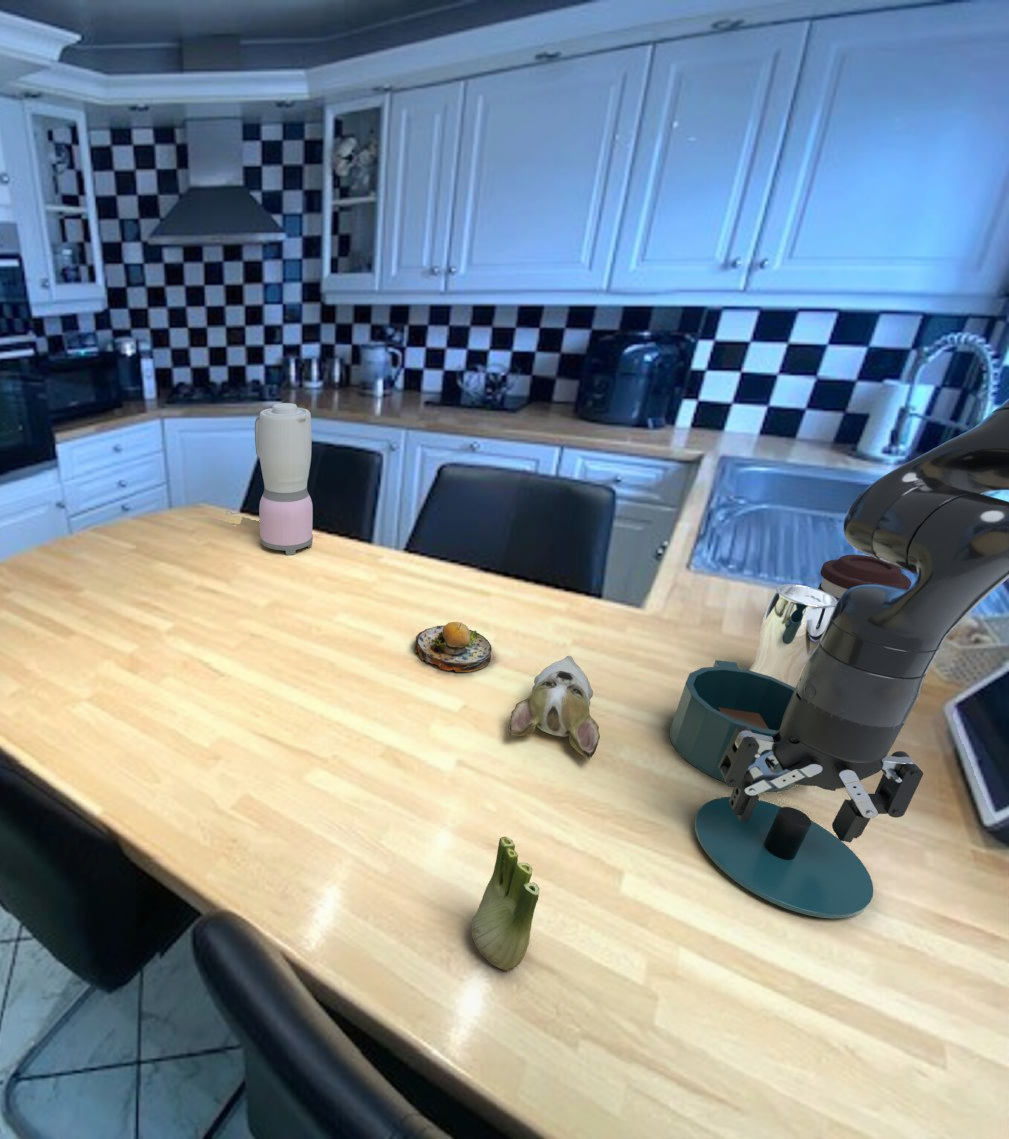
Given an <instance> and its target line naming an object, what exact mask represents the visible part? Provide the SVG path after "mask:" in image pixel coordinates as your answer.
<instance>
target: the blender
mask: <svg viewBox="0 0 1009 1139" xmlns="http://www.w3.org/2000/svg"><path fill="white" fill-rule="evenodd" d="M312 434H313V433H312V414H311V412H310V410H309V409H306V408H303V407H298V406H297V404H296V403H291V402H282V403H275V404H273V405H272V407H271V408H266V409H263V410H261V411H260V413H259V415H258V416H257V417H256V418H255V421H254V442H255V443H254V444H255V454H256V457H257V458H258V459H259V463H260V468H261V474H262V479H263V486H264V487H263V488H264V489H263V492H262V496H261V498H260V501H259V507H258V508H259V509H258V512H259V514H258V515H259V516H258V519H259V542H260V545H262V546H263V547H265V548H268V549H270V550H275V551H284V552H285V555H286V556H294V555H296V551H297V550H301V549H305V548H306V547H307V549H311V548H312V547H313V539H314V537H313V536H314V535H313V523H314V522H313V519H314V518H313V516H314V515H313V514H314V512H313V511H314V508H313V507H314V506H313V501H312V498H311V496H310V493H309V491H308V480H309V476H310V470H311V463H312V438H313V436H312Z"/></svg>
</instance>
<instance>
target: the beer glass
mask: <svg viewBox="0 0 1009 1139" xmlns="http://www.w3.org/2000/svg"><path fill="white" fill-rule="evenodd" d="M837 602H838V601H837V599H836V598H835V597H834V596H832V595H830V594H829V593H827V592H824V591H822V590H819V589H818V588H816V587H812V586H808V585H803V584H794V583H793V584H791V583H788V584H786V583H785V584H781V585H780V584H779V585H778V586H777V587H776V589H775V591H774V593H773V595H772V597H771V599H770V601H769V603H768V604H767V607H766V610H765V612H764V615H763V618H762V621H761V626H760V631H759V639H758V648H757V653H756V656H755V658H754V661H753V663H752V664H751V665H750V667H749V668H748V670H750V671H753V672H757V673H760V674H763V675H767V676H770V677H773V678H775V679H777V680H779V681H782V682H784V683H786V684H788V685H790V686H793V687H795V688H796V685H797V683H798V681H799V678H800V676H801V674H802V671H803V669H804V667H805V665H806V663H807V661H808V659H809V657H810V656H811V654H812V653H813V651H814V650H815V648H816V647H817V645H818V644H819V642H820V639H821V637H822V635H823V633H824V630H825V628H826V626H827V623H828V621H829V619H830V617H831V615H832V612H833V610H834V608H835V606H836V604H837Z"/></svg>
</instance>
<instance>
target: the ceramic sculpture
mask: <svg viewBox="0 0 1009 1139" xmlns="http://www.w3.org/2000/svg"><path fill="white" fill-rule="evenodd" d="M533 683H534V685H533V686H532V690H531V693H530V694H529V697H527V699H524V700H520V701H519V702H517V703H516V704H515V706H514V709H512V710H511V713H510V719H509V728H508V729H509V735H510V736H511V737H513V738H514V737H522V736H527V735H531V734H533V733H534V732H535V731H536V728H538V729H539V730H541V732H544V733H547V734H550V735H552V736H557V737H569V739H568V740H569V744H570V746H571V747H572V748H573V749H574V750H575V751H577V752H578V753H579V754H580V755H582V756H583V757H584V758H586V759H587V760H591V759H592V757H593V755H595V753H596V750H597V747H598V745H599V742H600V738H601V735H600V732H599V728H600V727H599V725H598V723H597V722H596V720H595V719H594V718H593V717H592V716H591V712H590V706H591V699H592V698H593V696H594V690H593V689H592V687H591V684H590V681H589V679H588V677H587V675H586V674H585V672H584V671H583V669H582V668H581V667H580V666H579V665H578V664H577V662H576V661H575V660H574V657H572V655H567V656H566V657H564V658H562V659H560V660H558V661H555V662H553V663H551V664H550V665H548V666H546V667H544V669H543V670H541V672H540V673H538V674H537V675H536V676H535V677H534V679H533Z"/></svg>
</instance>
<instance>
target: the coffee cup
mask: <svg viewBox="0 0 1009 1139" xmlns="http://www.w3.org/2000/svg"><path fill="white" fill-rule="evenodd" d="M820 576H821V577H822V582H821V583H820V584H818V588H817V589H819V590H822V591H824V592H827V593H829V594H830V595H832V596H834V597H835V598H836V599H837V601H838V600H839V598H840V597H841V595H842V594H843V593H844V592H845V591H846V590H848V589H850V588H852V587H855V586H859V585H868V584H872V585H884V586H891V587H896V588H902V589H906V590H909V589H910V588H911V587H912V586H911V585H912V581H911V579H910V578H909V577H908V576H907V575H905V574H904V573H902V568H899V567H897V566H894V565H892V564H889V563H887V562H884V561H881V560H879V559H876V558H874V557H871V556H869V555H866V554H864V555H863V554H844V555H841V556H840V557H839V558H838V559H830V560H827V561H825V562H824V563H823V564H822V566H821V569H820Z"/></svg>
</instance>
